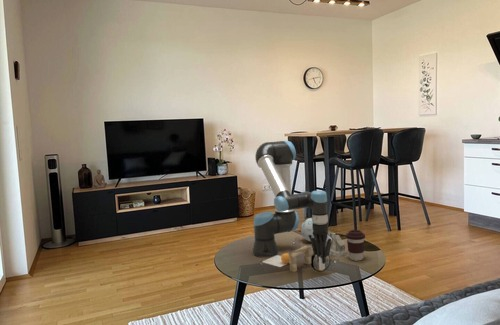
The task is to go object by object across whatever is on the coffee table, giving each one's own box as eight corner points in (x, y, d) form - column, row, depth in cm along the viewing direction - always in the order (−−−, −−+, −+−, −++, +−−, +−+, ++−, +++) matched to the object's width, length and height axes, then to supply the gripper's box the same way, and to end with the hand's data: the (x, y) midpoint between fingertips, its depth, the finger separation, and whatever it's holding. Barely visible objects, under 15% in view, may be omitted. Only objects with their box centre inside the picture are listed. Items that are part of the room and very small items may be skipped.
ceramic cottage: (337, 258, 202) (337, 230, 202) (315, 252, 215) (314, 226, 215) (355, 252, 211) (355, 226, 211) (333, 247, 224) (332, 222, 224)
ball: (288, 260, 194) (284, 267, 197) (295, 257, 198) (290, 263, 201) (282, 252, 196) (277, 259, 199) (288, 249, 200) (283, 256, 203)
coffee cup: (366, 262, 194) (365, 234, 193) (347, 261, 196) (346, 234, 195) (364, 255, 204) (364, 228, 202) (346, 255, 206) (345, 228, 204)
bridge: (289, 270, 188) (289, 253, 187) (306, 262, 199) (305, 245, 198) (294, 272, 186) (293, 254, 185) (311, 263, 197) (310, 246, 196)
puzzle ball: (325, 245, 225) (324, 221, 223) (300, 245, 227) (299, 221, 226) (324, 237, 240) (323, 215, 238) (301, 237, 242) (300, 215, 241)
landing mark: (261, 262, 203) (261, 261, 203) (277, 255, 212) (277, 255, 212) (280, 267, 194) (280, 267, 194) (295, 260, 203) (295, 259, 203)
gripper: (304, 222, 183) (306, 268, 185) (327, 226, 174) (329, 274, 176) (313, 219, 188) (315, 264, 190) (335, 222, 179) (337, 269, 181)
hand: (322, 269), depth 183 cm, fingers closed
